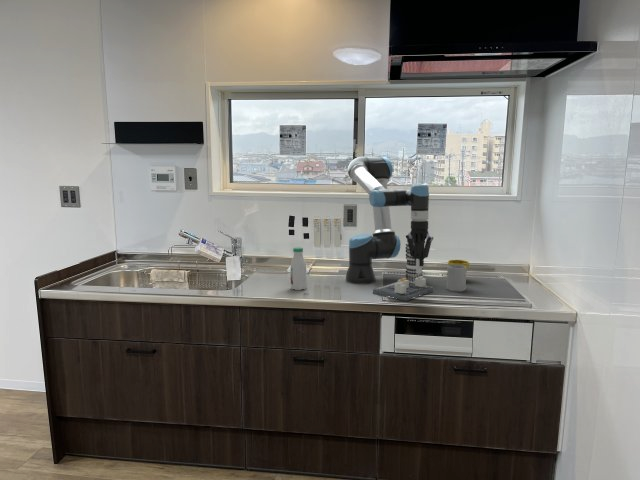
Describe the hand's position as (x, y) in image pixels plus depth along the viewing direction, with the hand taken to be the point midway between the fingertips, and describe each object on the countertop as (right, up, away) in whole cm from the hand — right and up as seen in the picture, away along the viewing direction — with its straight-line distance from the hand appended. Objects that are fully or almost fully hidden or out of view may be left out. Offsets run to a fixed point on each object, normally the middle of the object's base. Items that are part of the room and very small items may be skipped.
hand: (418, 272), depth 198 cm
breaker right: (+3, -7, +10) cm, 12 cm away
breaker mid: (-6, -7, +7) cm, 12 cm away
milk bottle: (-54, -9, +17) cm, 58 cm away
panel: (-6, -10, +8) cm, 13 cm away
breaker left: (-9, -9, -1) cm, 12 cm away
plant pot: (+26, -6, +29) cm, 40 cm away
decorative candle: (+4, -7, +28) cm, 29 cm away
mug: (+21, -8, +14) cm, 26 cm away
